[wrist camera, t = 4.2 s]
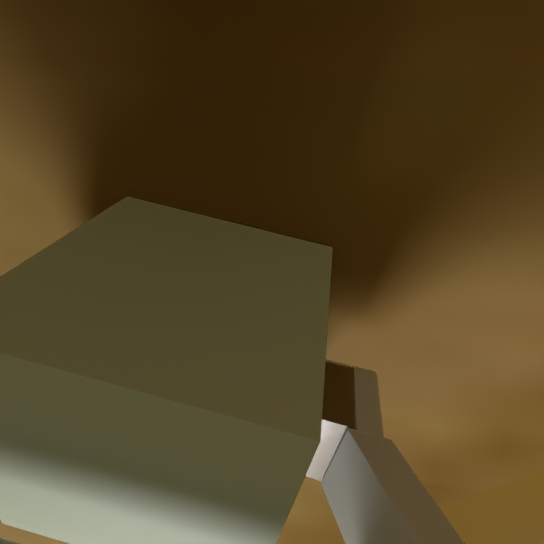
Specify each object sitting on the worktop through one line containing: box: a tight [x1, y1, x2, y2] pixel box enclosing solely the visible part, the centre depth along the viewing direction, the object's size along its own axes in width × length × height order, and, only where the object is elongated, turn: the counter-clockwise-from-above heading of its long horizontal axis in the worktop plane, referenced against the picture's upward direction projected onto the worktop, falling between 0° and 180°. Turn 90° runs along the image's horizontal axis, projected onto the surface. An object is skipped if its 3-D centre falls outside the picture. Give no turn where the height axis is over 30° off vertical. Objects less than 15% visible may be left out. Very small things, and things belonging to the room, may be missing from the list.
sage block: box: [0, 196, 333, 544], centre depth 8 cm, size 5×5×5 cm
